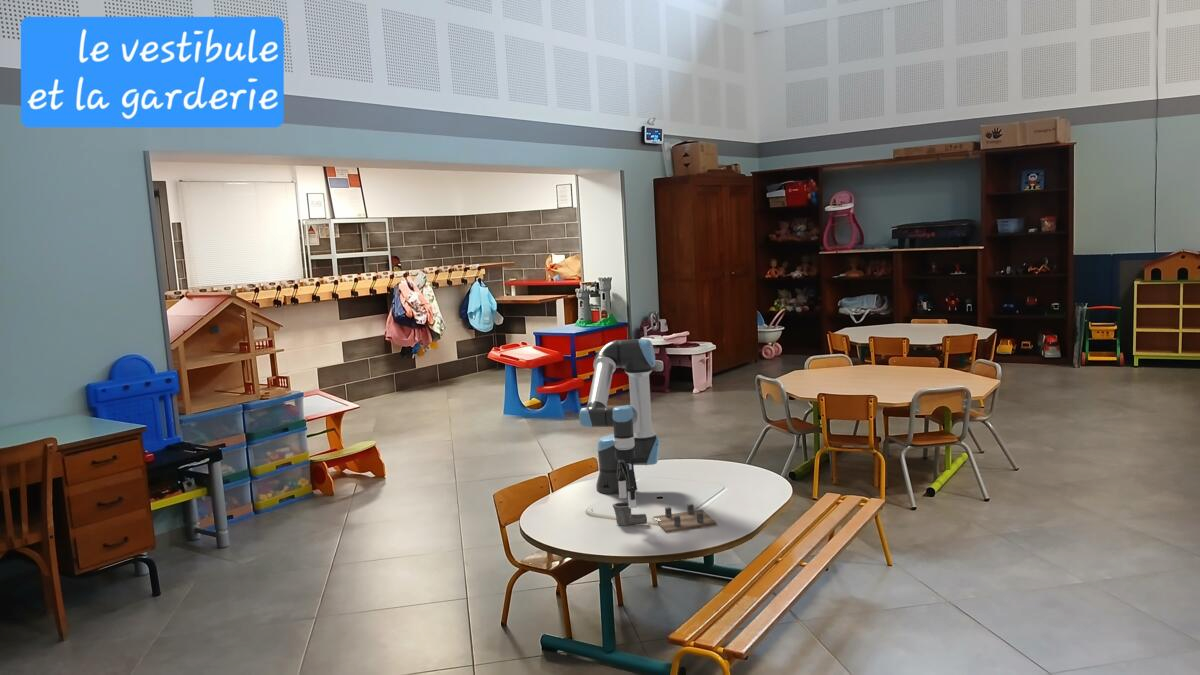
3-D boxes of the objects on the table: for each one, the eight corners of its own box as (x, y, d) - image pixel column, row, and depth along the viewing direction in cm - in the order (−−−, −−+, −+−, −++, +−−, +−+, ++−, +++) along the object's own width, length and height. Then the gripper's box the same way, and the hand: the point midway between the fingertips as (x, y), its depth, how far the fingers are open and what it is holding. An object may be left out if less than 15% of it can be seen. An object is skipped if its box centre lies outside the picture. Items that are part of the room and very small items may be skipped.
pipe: (645, 527, 322) (644, 507, 321) (612, 527, 324) (610, 506, 323) (647, 522, 328) (646, 501, 327) (615, 521, 330) (613, 501, 329)
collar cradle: (652, 519, 330) (652, 507, 330) (701, 511, 335) (701, 500, 334) (665, 532, 315) (665, 520, 314) (717, 525, 319) (716, 513, 319)
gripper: (606, 441, 334) (610, 494, 336) (623, 456, 309) (627, 513, 312) (625, 439, 335) (628, 492, 338) (643, 453, 311) (646, 510, 313)
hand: (627, 502), depth 325 cm, fingers open, 13 cm apart
